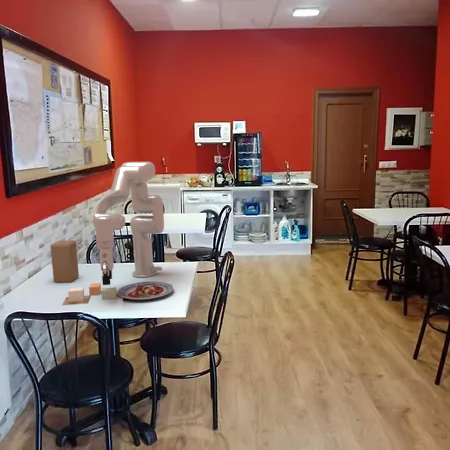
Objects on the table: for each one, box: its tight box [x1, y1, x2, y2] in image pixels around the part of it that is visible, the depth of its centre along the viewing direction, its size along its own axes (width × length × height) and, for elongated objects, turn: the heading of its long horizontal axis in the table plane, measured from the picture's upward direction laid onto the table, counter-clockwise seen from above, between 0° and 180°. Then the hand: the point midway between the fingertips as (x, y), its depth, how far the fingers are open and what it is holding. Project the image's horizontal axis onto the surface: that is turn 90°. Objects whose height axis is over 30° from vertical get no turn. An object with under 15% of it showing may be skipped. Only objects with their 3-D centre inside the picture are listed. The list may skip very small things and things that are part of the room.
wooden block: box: [50, 240, 80, 283], centre depth 247 cm, size 10×10×20 cm
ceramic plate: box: [116, 280, 174, 301], centre depth 222 cm, size 26×26×3 cm
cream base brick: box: [67, 287, 85, 302], centre depth 212 cm, size 6×4×5 cm
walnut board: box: [62, 294, 92, 306], centre depth 212 cm, size 11×11×1 cm
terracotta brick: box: [88, 282, 102, 296], centre depth 222 cm, size 6×4×5 cm
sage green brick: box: [101, 287, 118, 300], centre depth 215 cm, size 6×4×5 cm
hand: (107, 281), depth 213 cm, fingers open, 9 cm apart
